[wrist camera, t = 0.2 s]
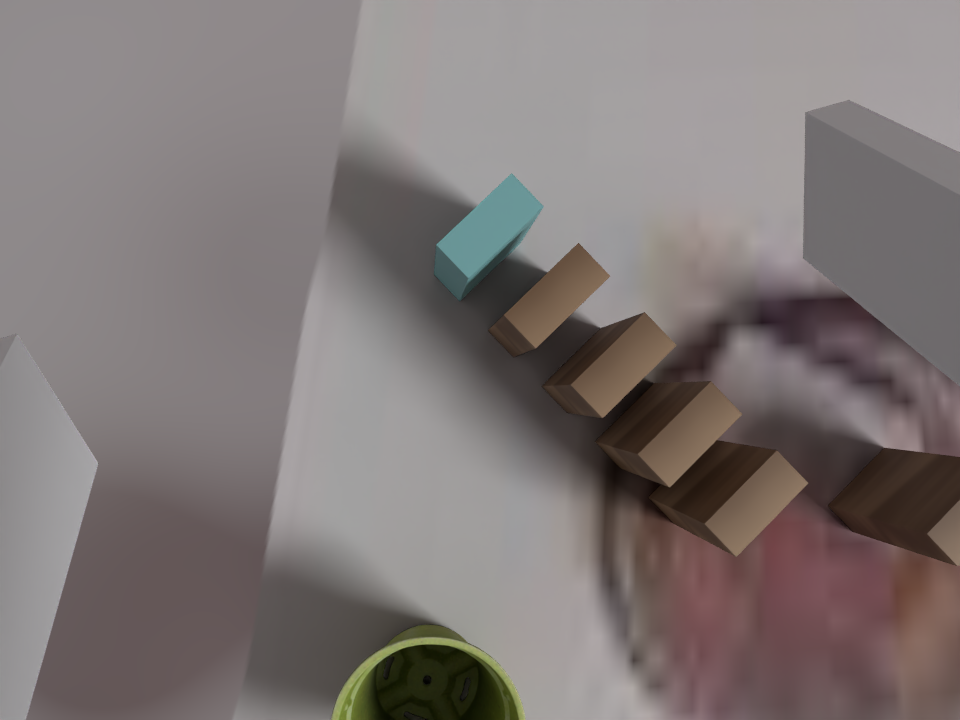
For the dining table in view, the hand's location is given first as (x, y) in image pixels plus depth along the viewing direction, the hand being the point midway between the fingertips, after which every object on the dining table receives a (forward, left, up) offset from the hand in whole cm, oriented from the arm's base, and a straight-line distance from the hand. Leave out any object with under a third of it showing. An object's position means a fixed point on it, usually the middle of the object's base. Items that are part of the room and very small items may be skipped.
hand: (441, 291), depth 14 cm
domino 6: (-24, -14, -35) cm, 45 cm away
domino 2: (-2, -6, -35) cm, 36 cm away
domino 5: (-16, -6, -35) cm, 39 cm away
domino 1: (+3, -6, -35) cm, 36 cm away
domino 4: (-11, -6, -35) cm, 38 cm away
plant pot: (-13, +13, -36) cm, 40 cm away
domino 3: (-7, -6, -35) cm, 37 cm away
